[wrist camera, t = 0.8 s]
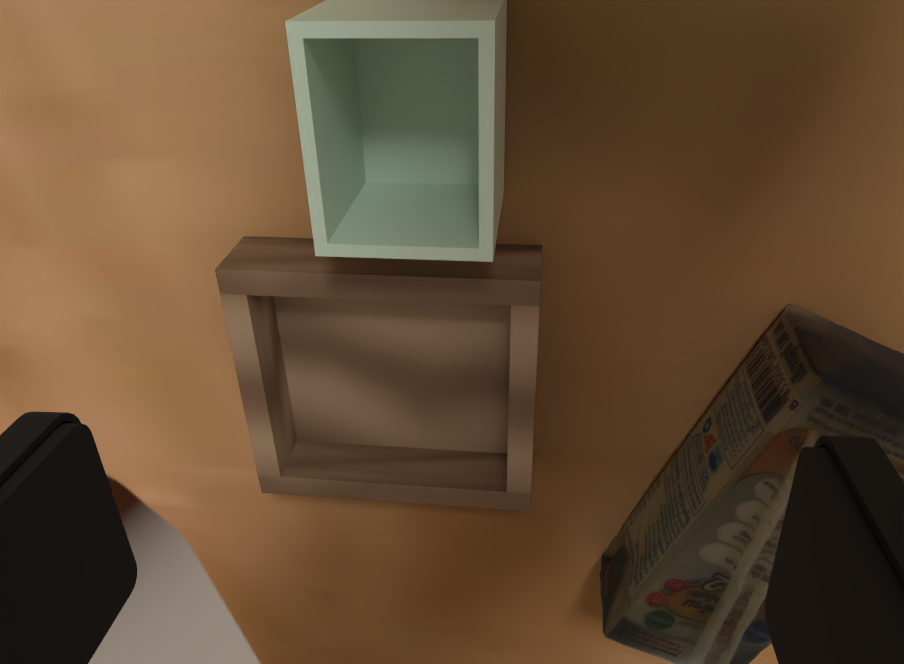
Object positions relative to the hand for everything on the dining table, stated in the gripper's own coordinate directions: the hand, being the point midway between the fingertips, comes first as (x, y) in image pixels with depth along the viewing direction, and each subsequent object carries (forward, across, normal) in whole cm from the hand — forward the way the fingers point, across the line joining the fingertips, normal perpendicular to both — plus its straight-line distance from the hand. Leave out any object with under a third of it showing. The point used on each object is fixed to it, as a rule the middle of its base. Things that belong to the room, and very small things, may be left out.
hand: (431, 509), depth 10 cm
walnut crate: (+24, +6, +12) cm, 28 cm away
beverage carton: (+25, -12, +19) cm, 33 cm away
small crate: (+24, +3, -1) cm, 24 cm away
